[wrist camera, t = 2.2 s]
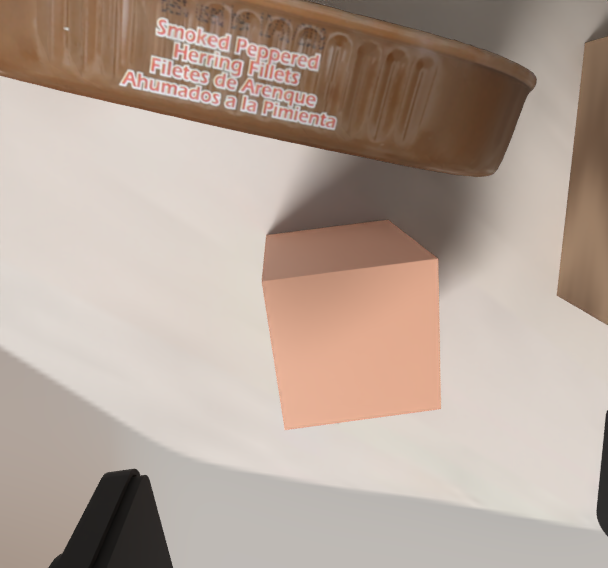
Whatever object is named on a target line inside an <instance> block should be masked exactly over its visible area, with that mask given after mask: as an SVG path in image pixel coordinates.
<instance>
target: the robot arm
mask: <svg viewBox="0 0 608 568" xmlns="http://www.w3.org/2000/svg"><path fill="white" fill-rule="evenodd" d="M597 519H598V522H599V524H600V526H601V528H602V530H603V531H604V532H605V534H606V535H607V536H608V410H607V413H606V419H605V430H604V440H603V450H602V460H601V470H600V481H599V491H598V501H597ZM49 568H173V566H172V562H171V558H170V555H169V551H168V547H167V543H166V540H165V536H164V532H163V529H162V525H161V521H160V517H159V514H158V510H157V506H156V502H155V499H154V495H153V491H152V487H151V484H150V480H149V478H148V476H147V475H141V476H140V473H139V472H138V470H137V469H129V470H122V471H115V472H108V473H106V474H104V475H103V477H102V478H101V480H100V482H99V484H98V486H97V488H96V490H95V492H94V494H93V496H92V498H91V500H90V502H89V504H88V505H87V507H86V509H85V511H84V513H83V515H82V517H81V519H80V521H79V523H78V525H77V527H76V528H75V530H74V533H73V534H72V536H71V538H70V540H69V542H68V544H67V546H66V548H65V550H64V552H63V553H62V554H60V555H59V556H57V557H56V558H55V559H54V560H53V562H52V563H51V565H50V566H49Z"/></svg>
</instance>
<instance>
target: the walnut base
mask: <svg viewBox="0 0 608 568" xmlns="http://www.w3.org/2000/svg"><path fill="white" fill-rule="evenodd" d="M557 296H559V297H560V298H562V299H564V300H566V301H567V302H569V303H571V304H572V305H574V306H576V307H578V308H579V309H581V310H583V311H584V312H586V313H588V314H589V315H591V316H593V317H595V318H596V319H598V320H600V321H601V322H603V323H605V324H607V325H608V36H607V37H603V38H600V39H596V40H593V41H589V42H586V43H585V48H584V57H583V66H582V75H581V84H580V93H579V102H578V111H577V120H576V128H575V137H574V146H573V155H572V164H571V173H570V182H569V191H568V200H567V209H566V218H565V227H564V236H563V244H562V253H561V262H560V271H559V280H558V289H557Z"/></svg>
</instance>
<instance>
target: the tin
mask: <svg viewBox="0 0 608 568" xmlns="http://www.w3.org/2000/svg"><path fill="white" fill-rule="evenodd" d="M0 76H4V77H8V78H12V79H16V80H20V81H24V82H28V83H32V84H36V85H40V86H44V87H48V88H52V89H56V90H60V91H64V92H68V93H73V94H77V95H81V96H86V97H90V98H95V99H99V100H103V101H108V102H112V103H116V104H121V105H126V106H130V107H135V108H139V109H144V110H148V111H152V112H156V113H160V114H164V115H169V116H174V117H178V118H182V119H187V120H191V121H195V122H200V123H204V124H208V125H213V126H217V127H222V128H226V129H231V130H235V131H240V132H244V133H249V134H254V135H258V136H263V137H268V138H273V139H277V140H282V141H286V142H291V143H296V144H301V145H306V146H311V147H315V148H320V149H325V150H329V151H335V152H340V153H345V154H350V155H355V156H360V157H365V158H370V159H374V160H379V161H384V162H388V163H393V164H398V165H403V166H408V167H414V168H419V169H424V170H430V171H436V172H442V173H448V174H454V175H462V176H473V177H482V176H489V175H492V174H494V173H495V172H496V170H497V169H498V167H499V165H500V164H501V162H502V160H503V157H504V155H505V152H506V150H507V148H508V145H509V143H510V140H511V138H512V135H513V132H514V130H515V127H516V124H517V121H518V118H519V116H520V113H521V110H522V108H523V105H524V102H525V100H526V97H527V95H528V94H529V93H530V92H531V91H532V90H533V88H534V87H535V85H536V80H537V79H536V76H535V75H534V73H533V72H531V71H530V70H528V69H527V68H525V67H523V66H521V65H519V64H517V63H515V62H513V61H511V60H509V59H507V58H504V57H502V56H499V55H497V54H494V53H492V52H489V51H486V50H484V49H479V48H477V47H474V46H472V45H469V44H465V43H462V42H459V41H457V40H450V39H447V38H444V37H441V36H438V35H435V34H431V33H427V32H424V31H420V30H417V29H412V28H408V27H404V26H400V25H397V24H393V23H389V22H386V21H382V20H378V19H374V18H370V17H367V16H363V15H358V14H354V13H350V12H347V11H343V10H340V9H337V8H333V7H329V6H325V5H321V4H318V3H313V2H310V1H306V0H0Z"/></svg>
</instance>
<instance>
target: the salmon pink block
mask: <svg viewBox="0 0 608 568" xmlns="http://www.w3.org/2000/svg"><path fill="white" fill-rule="evenodd" d="M262 286H263V293H264V299H265V305H266V312H267V318H268V325H269V331H270V338H271V344H272V350H273V357H274V363H275V370H276V376H277V383H278V389H279V395H280V402H281V408H282V415H283V421H284V428H285V430H289V429H296V428H304V427H311V426H318V425H326V424H333V423H341V422H348V421H355V420H363V419H370V418H378V417H385V416H392V415H400V414H407V413H415V412H422V411H429V410H437V409H441V391H440V334H439V277H438V258H437V257H435V256H434V255H433V254H432V253H430V252H429V251H428V250H426V249H425V248H424V247H423V246H421V245H420V244H419V243H417V242H416V241H415V240H414V239H412V238H411V237H410V236H408V235H407V234H406V233H405V232H403V231H402V230H401V229H399V228H398V227H397V226H396V225H394V224H393V223H392V222H390V221H389V220H381V221H373V222H365V223H357V224H349V225H341V226H333V227H325V228H318V229H310V230H302V231H294V232H286V233H278V234H270V235H266V243H265V253H264V263H263V274H262Z"/></svg>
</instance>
